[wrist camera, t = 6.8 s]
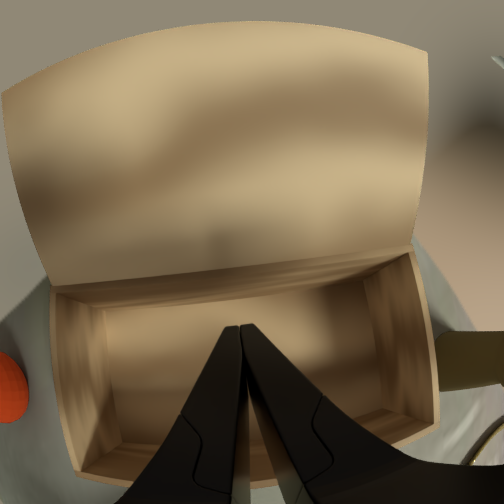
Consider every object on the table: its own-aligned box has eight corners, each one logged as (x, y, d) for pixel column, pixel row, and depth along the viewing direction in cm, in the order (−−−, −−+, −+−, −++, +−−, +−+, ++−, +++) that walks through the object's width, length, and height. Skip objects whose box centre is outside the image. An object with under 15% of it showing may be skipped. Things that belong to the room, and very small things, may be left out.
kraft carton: (385, 410, 18) (439, 427, 11) (120, 445, 16) (76, 476, 9) (364, 275, 22) (412, 243, 15) (102, 306, 20) (50, 285, 13)
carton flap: (426, 52, 8) (421, 52, 9) (1, 93, 7) (7, 92, 7) (409, 244, 14) (405, 240, 14) (52, 286, 12) (55, 281, 13)
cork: (466, 384, 18) (548, 382, 8) (425, 397, 18) (516, 406, 8) (467, 328, 20) (549, 305, 10) (427, 334, 20) (519, 313, 10)
